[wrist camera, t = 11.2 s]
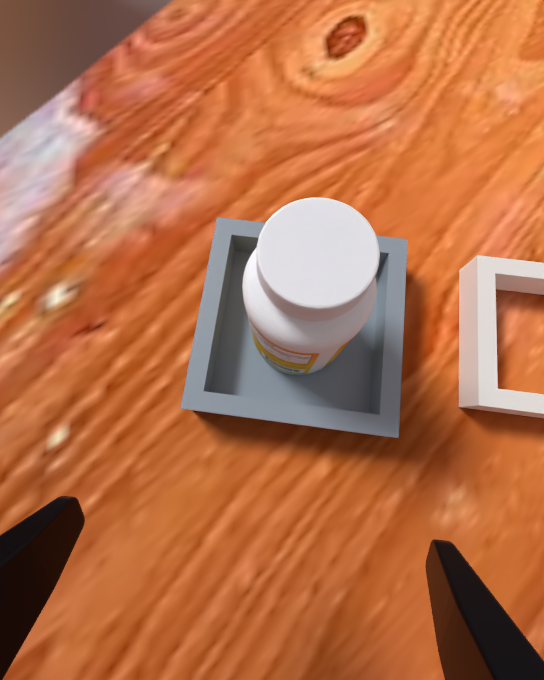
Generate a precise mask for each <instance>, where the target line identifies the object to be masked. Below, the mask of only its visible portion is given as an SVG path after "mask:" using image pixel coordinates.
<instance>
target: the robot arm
mask: <svg viewBox="0 0 544 680" xmlns="http://www.w3.org/2000/svg"><path fill="white" fill-rule="evenodd" d="M84 521H85V518H84V514H83V512H82V509H81V506H80V504H79V501H78V499H77V498H75V497H69V496H60V497H58V498H56V499H55V500H53V501H52V502H50V503H49V504H47V505H46V506H44V507H43V508H41V509H40V510H38V511H37V512H35V513H34V514H32V515H31V516H29V517H28V518H26V519H24V520H23V521H21V522H20V523H18V524H17V525H15V526H14V527H12V528H11V529H9V530H8V531H6V532H5V533H3V534H2V535H0V680H2V679H3V678H4V676H5V674H6V672H7V671H8V669H9V667H10V665H11V664H12V662H13V660H14V658H15V657H16V655H17V653H18V651H19V650H20V648H21V646H22V644H23V643H24V641H25V639H26V637H27V636H28V634H29V632H30V630H31V629H32V627H33V625H34V623H35V622H36V620H37V618H38V616H39V615H40V613H41V611H42V609H43V608H44V606H45V604H46V602H47V601H48V599H49V597H50V595H51V593H52V592H53V590H54V588H55V586H56V584H57V582H58V580H59V578H60V576H61V573H62V571H63V569H64V567H65V565H66V563H67V561H68V558H69V556H70V554H71V552H72V550H73V548H74V546H75V543H76V541H77V539H78V537H79V535H80V533H81V531H82V529H83V526H84ZM426 575H427V581H428V588H429V594H430V601H431V607H432V614H433V621H434V627H435V634H436V640H437V646H438V652H439V656H440V661H441V665H442V669H443V673H444V677H445V680H544V661H543V659H542V658H541V657H540V655H539V654H538V653H537V652H536V650H535V649H534V648H533V646H532V645H531V644H530V643H529V641H528V640H527V639H526V637H525V636H524V635H523V633H522V632H521V631H520V630H519V628H518V627H517V626H516V624H515V623H514V622H513V620H512V619H511V618H510V617H509V615H508V614H507V613H506V611H505V610H504V609H503V607H502V606H501V605H500V604H499V602H498V601H497V600H496V598H495V597H494V596H493V595H492V593H491V592H490V591H489V589H488V588H487V587H486V585H485V584H484V583H483V582H482V580H481V579H480V578H479V576H478V575H477V574H476V572H475V571H474V570H473V569H472V567H471V566H470V565H469V563H468V562H467V561H466V560H465V558H464V557H463V556H462V554H461V553H460V552H459V550H458V549H457V548H456V547H455V545H454V544H453V543H451V542H450V541H444V540H436V539H435V540H432V542H431V544H430V548H429V552H428V555H427V559H426Z"/></svg>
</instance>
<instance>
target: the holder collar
mask: <svg viewBox="0 0 544 680" xmlns="http://www.w3.org/2000/svg"><path fill="white" fill-rule="evenodd" d="M496 289H498V290H506V291H514V292H523V293H531V294H540V295H544V263H540V262H531V261H522V260H514V259H505V258H496V257H488V256H479V255H477V256H476V257H475V258H473V259H472V260H471V261H470V262H469V263H467V264H466V265H465V266H464V267H463V268H462V269H460V270H459V407H461V408H469V409H476V410H484V411H491V412H499V413H507V414H514V415H522V416H529V417H537V418H544V394H536V393H528V392H520V391H513V390H505V389H498V374H497V330H496Z"/></svg>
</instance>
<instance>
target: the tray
mask: <svg viewBox="0 0 544 680" xmlns="http://www.w3.org/2000/svg"><path fill="white" fill-rule="evenodd" d="M265 224H266V223H262V222H254V221H245V220H236V219H228V218H219V217H217V221H216V226H215V232H214V237H213V242H212V247H211V252H210V258H209V263H208V268H207V273H206V278H205V283H204V289H203V294H202V299H201V304H200V309H199V315H198V320H197V325H196V330H195V335H194V341H193V346H192V351H191V356H190V361H189V367H188V372H187V377H186V382H185V387H184V393H183V398H182V403H181V408H182V409H187V410H193V411H200V412H207V413H215V414H222V415H229V416H237V417H244V418H251V419H259V420H266V421H273V422H281V423H288V424H295V425H303V426H310V427H317V428H324V429H332V430H339V431H346V432H354V433H361V434H368V435H376V436H383V437H393V438H399V423H400V400H401V377H402V355H403V332H404V309H405V286H406V264H407V241H408V239H401V238H392V237H384V236H376V237H377V240H378V244H379V250H380V259H379V267H378V270H377V273H376V276H375V277H376V286H377V293H376V299H375V304H374V307H373V310H372V312H371V315H370V316H369V318H368V320H367V321H366V323H365V325H364V326H363V327H362V329H361V330H360V331H359V332H358V334H357V335H356V336H355V337H354V338H353V339H352V340H351V341H350V342H349V343H348V344H347V345H346V347H345V348H344V349H343V350H342V351H341V352H340V353H339V354H338V356H337V357H336V358H335V359H334V360H333V361H332V362H331V363H330V364H328V365H327V366H326V367H324V368H323V369H321V370H319V371H316V372H314V373H310V374H303V375H296V374H289V373H285V372H282V371H280V370H278V369H276V368H274V367H273V366H271V365H270V364H269V363H268V362H267V361H266V360H265V359H264V358H263V357H262V356H261V354H260V353H259V351H258V350H257V348H256V345H255V342H254V339H253V335H252V331H251V327H250V323H249V319H248V315H247V312H246V308H245V305H244V298H243V289H242V285H243V275H244V271H245V267H246V264H247V262H248V260H249V258H250V256H251V254H252V253H253V251H254V250H255V249H256V247H257V243H258V238H259V235H260V233H261V231H262V228H263V227H264V225H265Z"/></svg>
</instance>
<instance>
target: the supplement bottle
mask: <svg viewBox="0 0 544 680" xmlns="http://www.w3.org/2000/svg"><path fill="white" fill-rule="evenodd" d="M379 259H380V250H379V244H378V240H377V237H376V234H375V232H374V230H373V228H372V227H371V225H370V224H369V222H368V221H367V220H366V219H365V218H364V217H363V216H362V215H361V214H360V213H359V212H358V211H356V210H355V209H354V208H352V207H350V206H349V205H347V204H344V203H342V202H340V201H336V200H333V199H328V198H306V199H301V200H297V201H294V202H292V203H289V204H287V205H286V206H284V207H282V208H281V209H279V210H278V211H277V212H275V213H274V214H273V215H272V216H271V217H270V218H269V220H268V221H267V222H266V224H265V225H264V227H263V228H262V231H261V233H260V235H259V238H258V243H257V247H256V249H255V250H254V251H253V253H252V254H251V256H250V258H249V260H248V262H247V264H246V267H245V271H244V275H243V285H242V289H243V298H244V305H245V308H246V312H247V315H248V319H249V323H250V327H251V331H252V335H253V339H254V342H255V345H256V348H257V350H258V351H259V353H260V354H261V356H262V357H263V358H264V359H265V360H266V361H267V362H268V363H269V364H270V365H271V366H273V367H274V368H276V369H278V370H280V371H282V372H285V373H289V374H296V375H303V374H310V373H314V372H316V371H319V370H321V369H323V368H324V367H326V366H327V365H328V364H330V363H331V362H332V361H333V360H334V359H335V358H336V357H337V356H338V354H339V353H340V352H341V351H342V350H343V349H344V348H345V347H346V345H347V344H348V343H349V342H350V341H351V340H352V339H353V338H354V337H355V336H356V335H357V334H358V332H359V331H360V330H361V329H362V327H363V326H364V325H365V323H366V321H367V320H368V318H369V316H370V315H371V312H372V310H373V307H374V304H375V299H376V293H377V286H376V277H375V276H376V273H377V270H378V267H379Z"/></svg>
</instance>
